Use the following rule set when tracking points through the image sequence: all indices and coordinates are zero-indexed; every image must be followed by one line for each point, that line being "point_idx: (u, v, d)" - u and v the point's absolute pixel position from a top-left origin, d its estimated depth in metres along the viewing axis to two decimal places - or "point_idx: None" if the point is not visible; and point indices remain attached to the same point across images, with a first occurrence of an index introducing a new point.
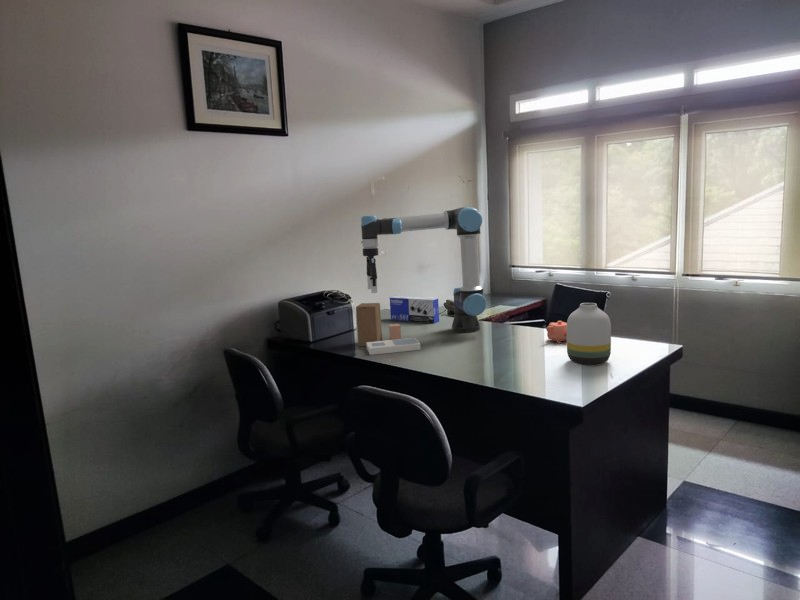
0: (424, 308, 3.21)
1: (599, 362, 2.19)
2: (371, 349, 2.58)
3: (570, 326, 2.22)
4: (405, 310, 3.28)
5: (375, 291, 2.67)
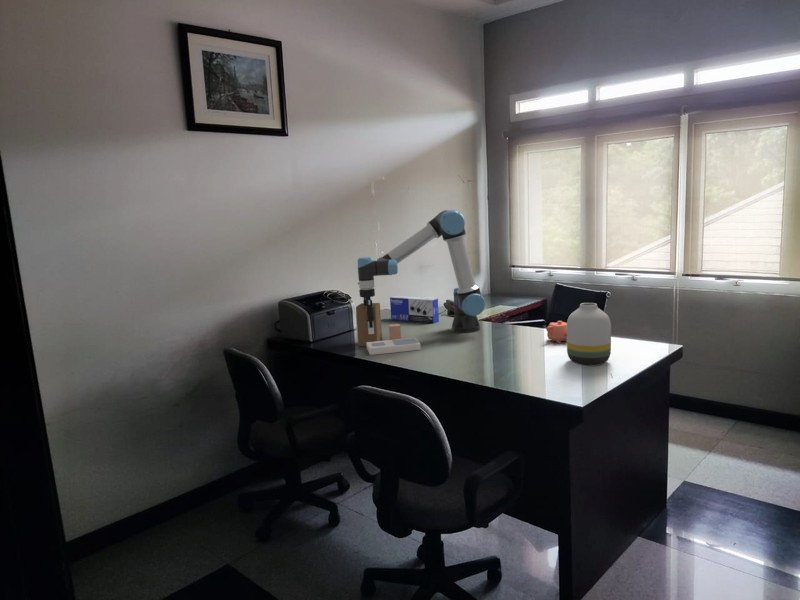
0: (423, 308, 3.21)
1: (599, 362, 2.19)
2: (371, 349, 2.58)
3: (570, 326, 2.22)
4: (405, 310, 3.28)
5: (372, 332, 2.72)
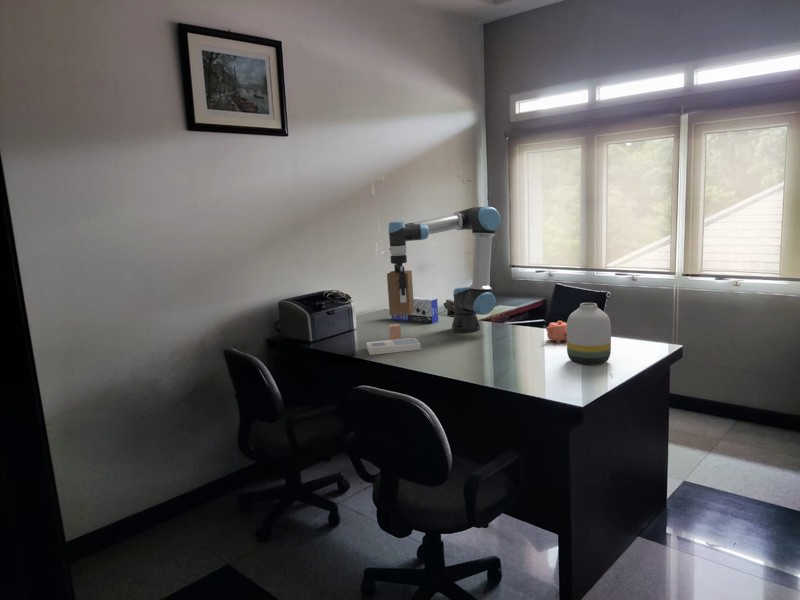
0: (423, 308, 3.20)
1: (599, 362, 2.19)
2: (371, 349, 2.58)
3: (570, 326, 2.22)
4: None
5: (404, 300, 2.58)
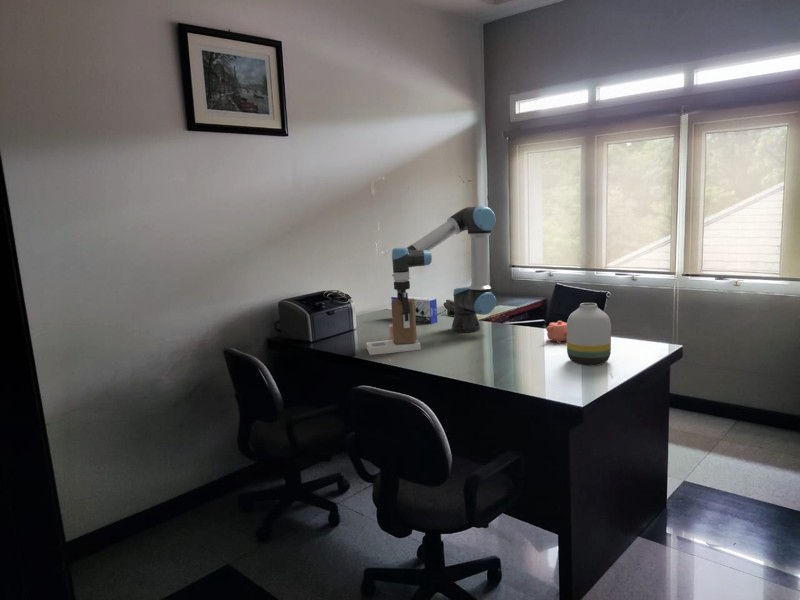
0: (421, 308, 3.20)
1: (599, 362, 2.19)
2: (371, 349, 2.58)
3: (570, 326, 2.22)
4: None
5: (408, 326, 2.59)
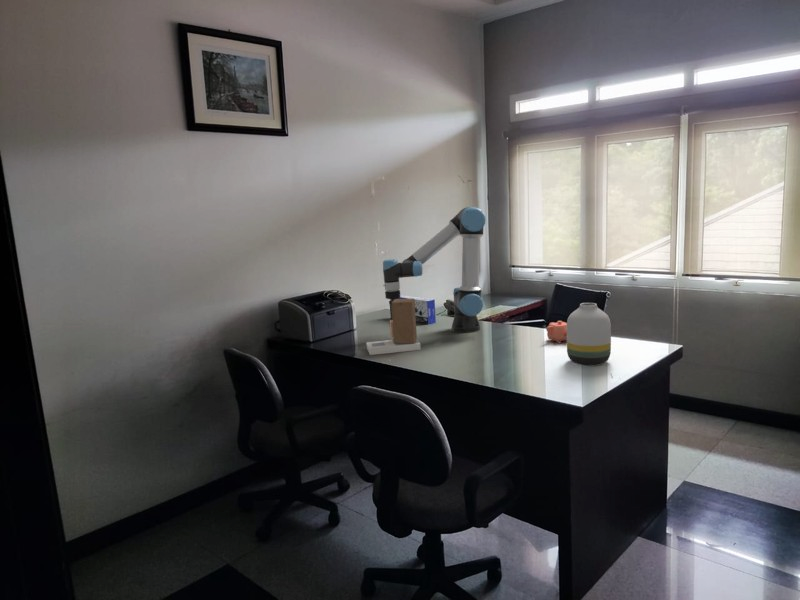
0: (420, 308, 3.20)
1: (599, 362, 2.19)
2: (371, 349, 2.58)
3: (570, 326, 2.22)
4: None
5: None
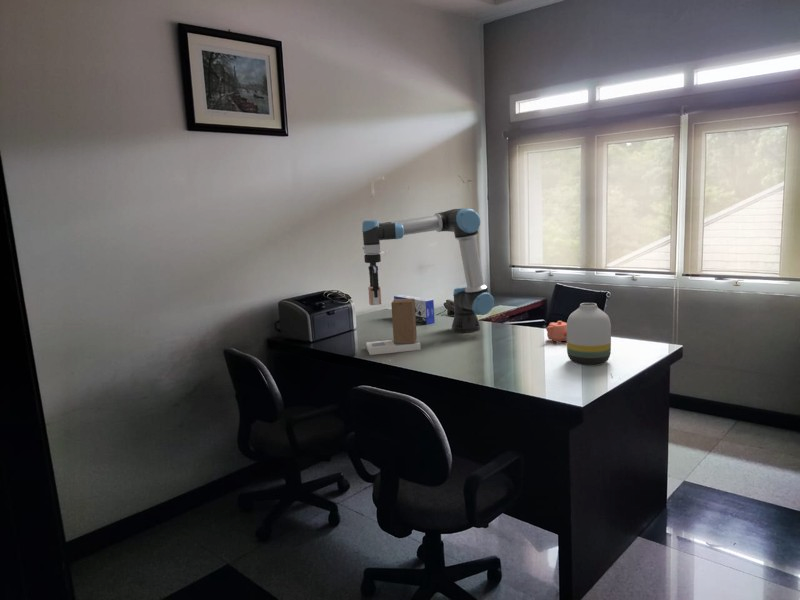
0: (419, 308, 3.20)
1: (599, 362, 2.19)
2: (371, 349, 2.58)
3: (570, 326, 2.22)
4: None
5: (377, 302, 2.59)
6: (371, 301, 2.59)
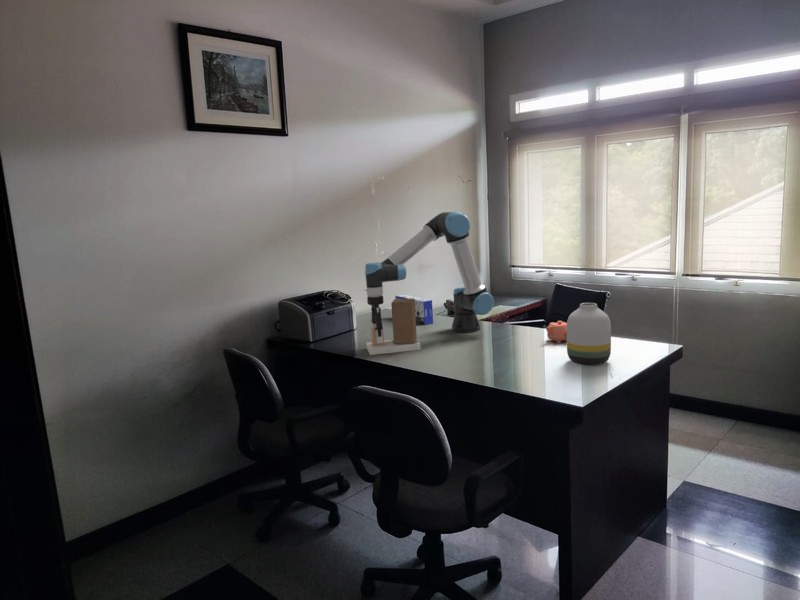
0: (417, 308, 3.20)
1: (599, 362, 2.19)
2: (371, 349, 2.58)
3: (570, 326, 2.22)
4: None
5: (381, 341, 2.58)
6: (374, 342, 2.62)
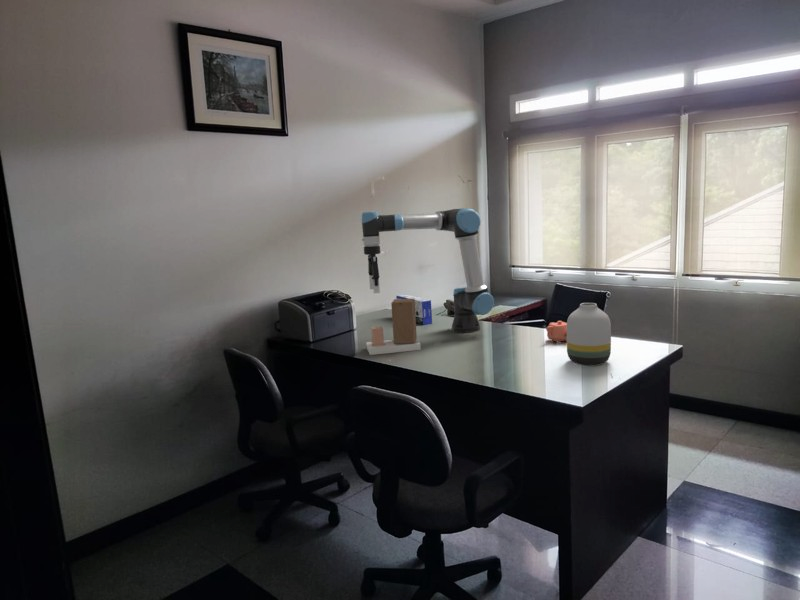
0: (416, 309, 3.20)
1: (599, 362, 2.19)
2: (371, 349, 2.58)
3: (570, 326, 2.22)
4: None
5: (377, 291, 2.54)
6: (374, 342, 2.62)
